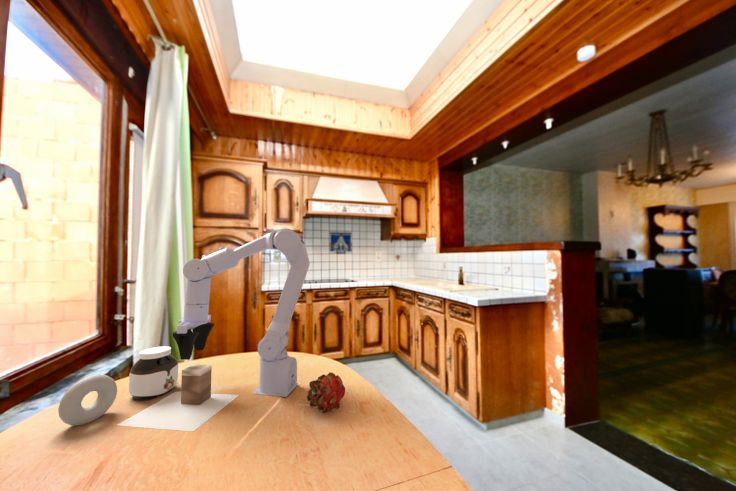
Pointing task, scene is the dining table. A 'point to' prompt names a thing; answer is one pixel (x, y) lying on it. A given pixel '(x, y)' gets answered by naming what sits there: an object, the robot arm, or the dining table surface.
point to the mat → (178, 413)
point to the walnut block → (196, 384)
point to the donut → (73, 397)
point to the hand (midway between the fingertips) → (192, 354)
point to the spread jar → (153, 373)
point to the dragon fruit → (326, 392)
